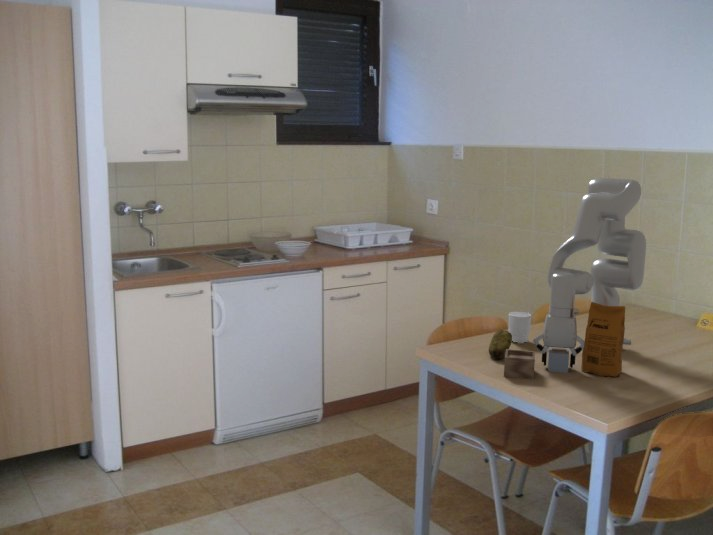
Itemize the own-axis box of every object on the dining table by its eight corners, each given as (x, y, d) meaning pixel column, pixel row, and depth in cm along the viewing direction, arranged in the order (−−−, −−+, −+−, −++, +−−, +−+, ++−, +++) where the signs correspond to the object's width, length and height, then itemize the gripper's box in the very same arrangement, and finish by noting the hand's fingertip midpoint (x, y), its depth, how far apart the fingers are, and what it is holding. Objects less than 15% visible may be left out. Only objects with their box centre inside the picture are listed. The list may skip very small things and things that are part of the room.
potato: (478, 357, 250) (479, 334, 248) (497, 349, 259) (498, 326, 258) (500, 362, 244) (501, 338, 243) (519, 353, 254) (520, 331, 253)
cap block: (567, 367, 240) (568, 348, 239) (567, 372, 234) (569, 353, 233) (548, 365, 242) (549, 346, 240) (548, 371, 236) (549, 352, 235)
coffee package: (586, 364, 244) (591, 298, 240) (625, 371, 237) (630, 303, 233) (576, 371, 236) (581, 303, 232) (616, 379, 229) (621, 309, 225)
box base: (533, 370, 236) (534, 351, 235) (533, 379, 228) (534, 359, 227) (504, 367, 238) (505, 349, 237) (503, 376, 230) (504, 357, 229)
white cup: (528, 338, 273) (529, 312, 271) (530, 344, 265) (532, 317, 264) (506, 337, 274) (507, 311, 272) (508, 343, 266) (509, 316, 264)
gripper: (589, 311, 236) (585, 364, 239) (533, 307, 240) (530, 360, 243) (591, 316, 229) (587, 371, 232) (533, 312, 233) (530, 366, 236)
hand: (558, 365), depth 238 cm, fingers open, 7 cm apart
